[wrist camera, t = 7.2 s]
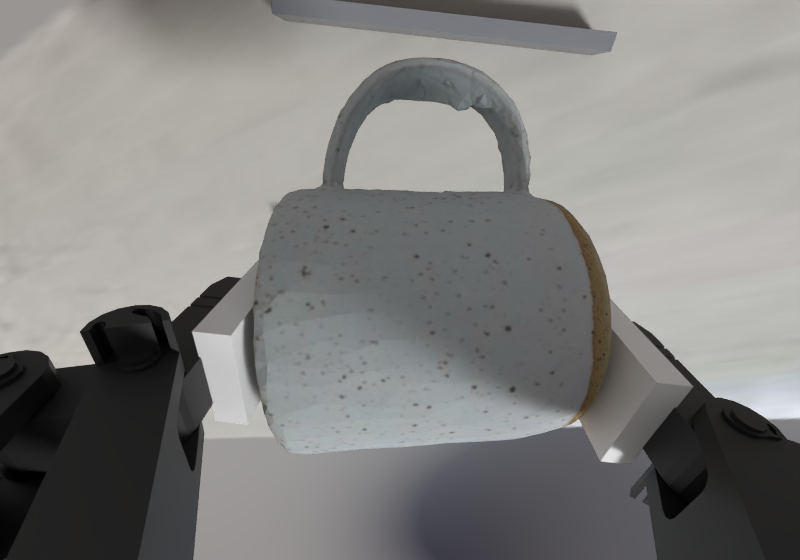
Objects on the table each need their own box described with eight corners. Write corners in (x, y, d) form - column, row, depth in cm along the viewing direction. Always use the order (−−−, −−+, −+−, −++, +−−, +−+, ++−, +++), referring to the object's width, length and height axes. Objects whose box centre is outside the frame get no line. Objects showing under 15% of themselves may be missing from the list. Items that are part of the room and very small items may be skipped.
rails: (598, 37, 23) (617, 32, 21) (527, 255, 31) (535, 267, 29) (284, 2, 23) (270, -7, 20) (299, 231, 31) (290, 242, 29)
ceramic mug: (514, 331, 15) (595, 516, 8) (339, 334, 16) (283, 511, 9) (554, 54, 10) (842, -38, 3) (293, 71, 10) (78, 21, 4)
